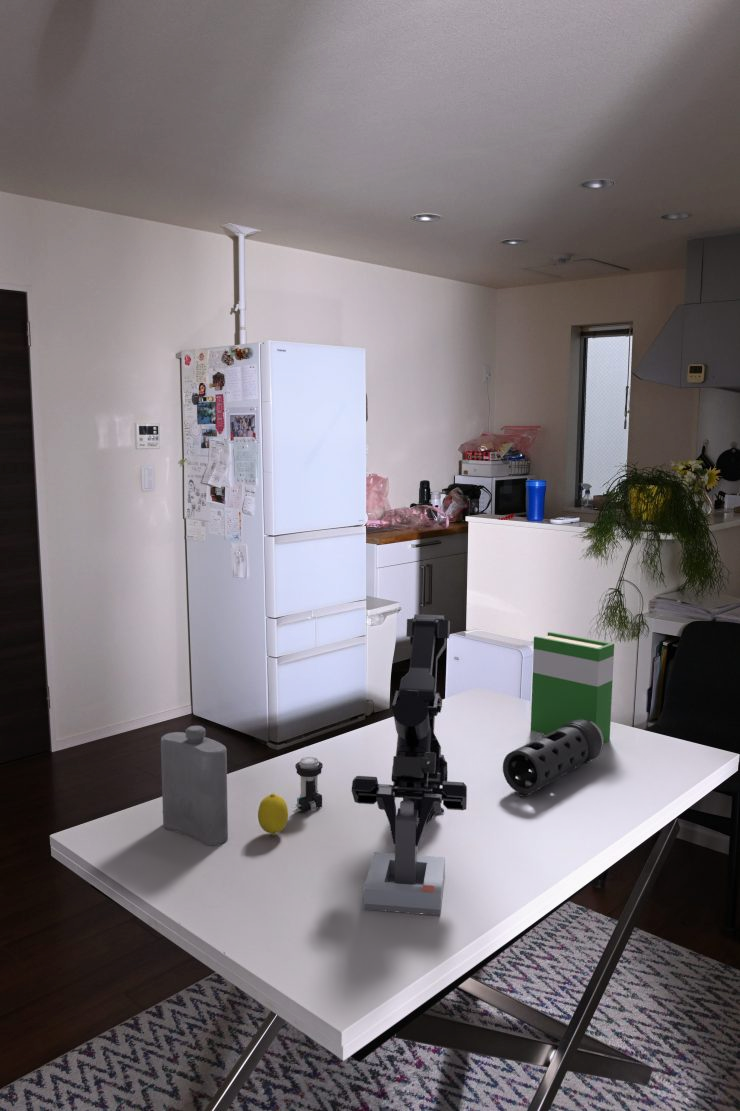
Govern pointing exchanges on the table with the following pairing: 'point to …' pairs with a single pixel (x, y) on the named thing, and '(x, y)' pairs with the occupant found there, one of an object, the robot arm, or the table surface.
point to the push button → (308, 784)
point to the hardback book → (571, 682)
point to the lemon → (273, 814)
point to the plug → (406, 843)
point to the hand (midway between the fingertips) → (405, 844)
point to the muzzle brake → (552, 756)
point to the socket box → (405, 886)
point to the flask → (195, 785)
